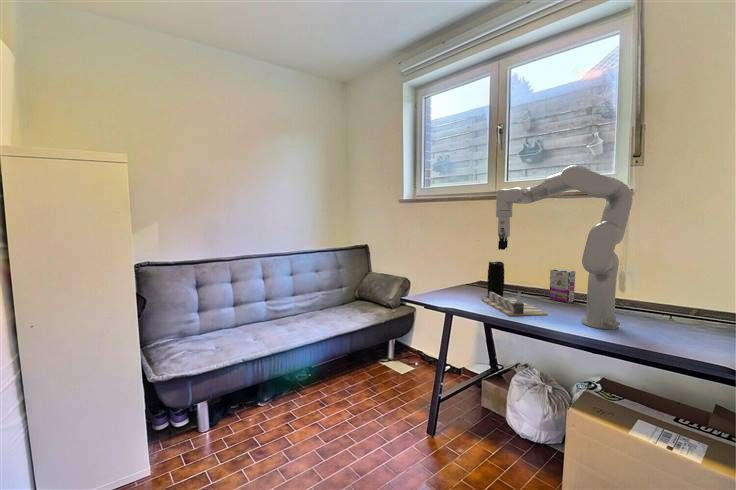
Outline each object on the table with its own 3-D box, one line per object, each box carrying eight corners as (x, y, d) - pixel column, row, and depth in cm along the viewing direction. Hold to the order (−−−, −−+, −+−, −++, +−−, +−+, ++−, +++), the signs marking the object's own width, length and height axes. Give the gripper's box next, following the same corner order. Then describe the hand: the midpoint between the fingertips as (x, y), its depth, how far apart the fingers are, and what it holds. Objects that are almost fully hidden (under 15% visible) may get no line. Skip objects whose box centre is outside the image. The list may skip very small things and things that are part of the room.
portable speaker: (497, 294, 197) (498, 260, 195) (507, 298, 187) (508, 263, 186) (483, 295, 195) (484, 261, 193) (492, 299, 186) (493, 263, 184)
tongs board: (547, 315, 155) (547, 303, 155) (509, 316, 154) (509, 304, 153) (513, 299, 185) (514, 289, 184) (481, 300, 183) (481, 290, 183)
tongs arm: (519, 311, 157) (519, 303, 156) (515, 310, 158) (515, 303, 157) (520, 299, 180) (521, 292, 179) (517, 298, 180) (517, 292, 180)
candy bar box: (574, 302, 179) (576, 271, 177) (568, 303, 177) (569, 271, 175) (555, 297, 189) (556, 268, 187) (548, 298, 187) (550, 268, 185)
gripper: (510, 214, 160) (509, 250, 162) (513, 214, 176) (512, 247, 177) (493, 214, 164) (492, 249, 165) (498, 214, 179) (497, 247, 180)
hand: (502, 248), depth 171 cm, fingers open, 9 cm apart
